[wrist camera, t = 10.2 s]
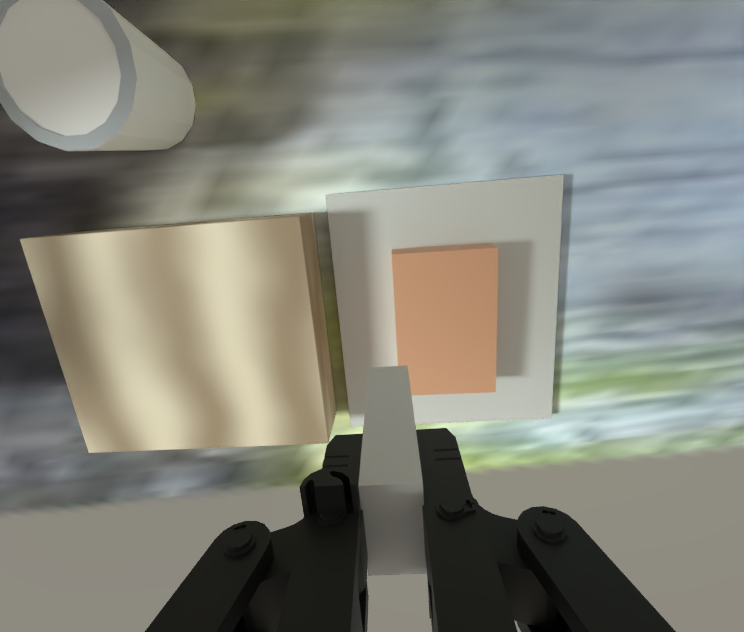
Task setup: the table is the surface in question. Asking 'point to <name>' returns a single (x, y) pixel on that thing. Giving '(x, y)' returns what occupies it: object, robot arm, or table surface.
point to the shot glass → (89, 78)
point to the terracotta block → (447, 317)
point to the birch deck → (190, 332)
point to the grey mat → (443, 228)
